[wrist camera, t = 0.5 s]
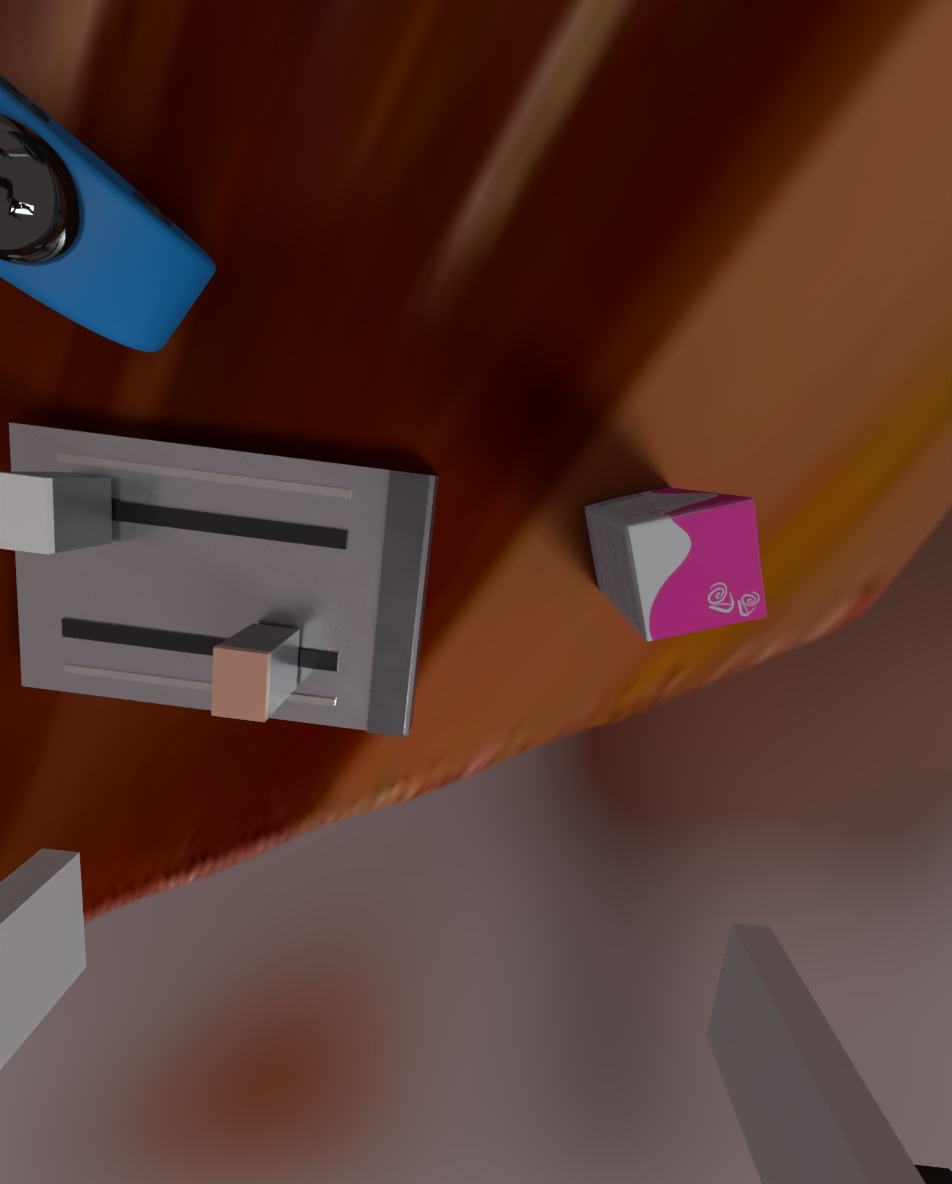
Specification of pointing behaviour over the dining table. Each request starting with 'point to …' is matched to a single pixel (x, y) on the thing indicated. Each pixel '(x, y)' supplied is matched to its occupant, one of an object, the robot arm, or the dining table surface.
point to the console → (230, 576)
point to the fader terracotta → (254, 672)
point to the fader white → (54, 511)
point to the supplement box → (677, 559)
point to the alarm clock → (89, 234)
